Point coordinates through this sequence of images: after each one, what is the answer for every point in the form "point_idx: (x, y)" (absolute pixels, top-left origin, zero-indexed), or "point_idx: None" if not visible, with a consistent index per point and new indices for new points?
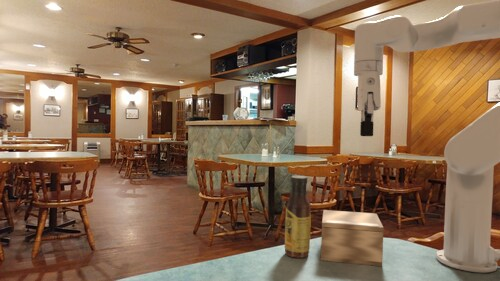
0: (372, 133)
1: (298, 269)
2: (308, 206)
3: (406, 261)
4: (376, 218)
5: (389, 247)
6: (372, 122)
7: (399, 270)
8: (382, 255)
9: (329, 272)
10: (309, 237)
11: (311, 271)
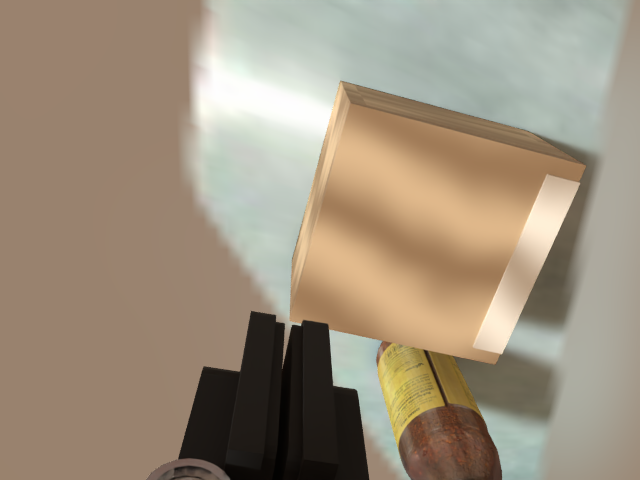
0: (327, 345)
1: (517, 361)
2: (489, 441)
3: (494, 22)
4: (444, 140)
5: (345, 22)
6: (334, 466)
7: (564, 86)
8: (541, 139)
9: (547, 292)
10: (443, 358)
11: (534, 334)
